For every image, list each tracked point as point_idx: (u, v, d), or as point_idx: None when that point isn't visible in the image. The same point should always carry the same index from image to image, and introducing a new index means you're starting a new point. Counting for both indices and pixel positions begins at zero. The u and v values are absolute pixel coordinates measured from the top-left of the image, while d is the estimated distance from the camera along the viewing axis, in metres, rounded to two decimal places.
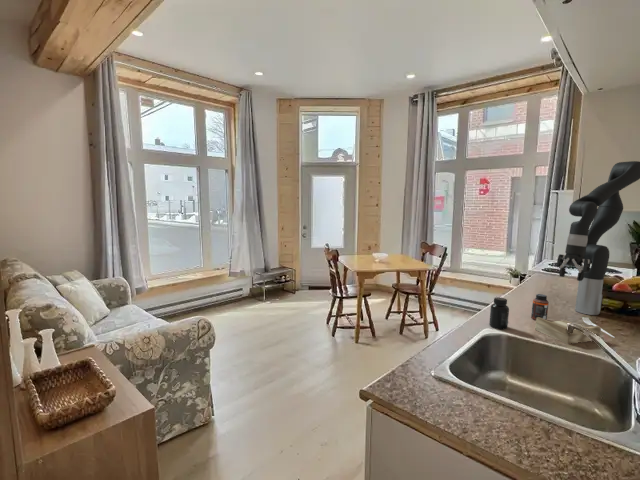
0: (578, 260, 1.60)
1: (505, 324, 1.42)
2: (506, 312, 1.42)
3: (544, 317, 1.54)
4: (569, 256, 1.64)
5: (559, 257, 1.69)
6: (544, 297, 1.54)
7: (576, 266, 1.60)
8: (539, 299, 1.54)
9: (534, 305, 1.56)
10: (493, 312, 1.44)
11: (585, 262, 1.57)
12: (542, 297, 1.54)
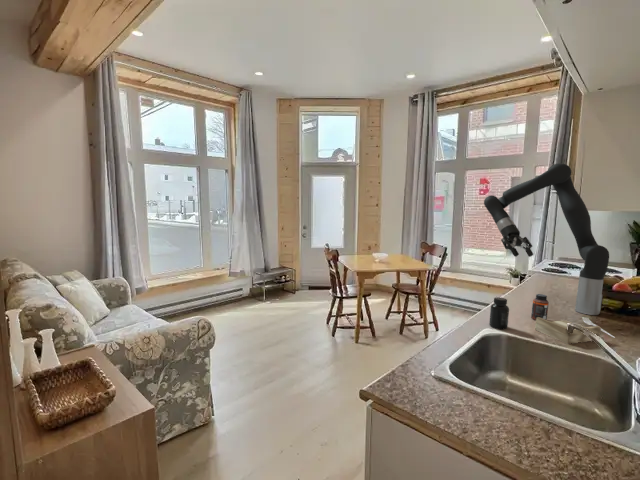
0: None
1: (505, 324, 1.42)
2: (506, 312, 1.42)
3: (544, 317, 1.54)
4: None
5: None
6: (544, 297, 1.54)
7: None
8: (539, 299, 1.54)
9: (534, 305, 1.56)
10: (493, 312, 1.44)
11: None
12: (542, 297, 1.54)
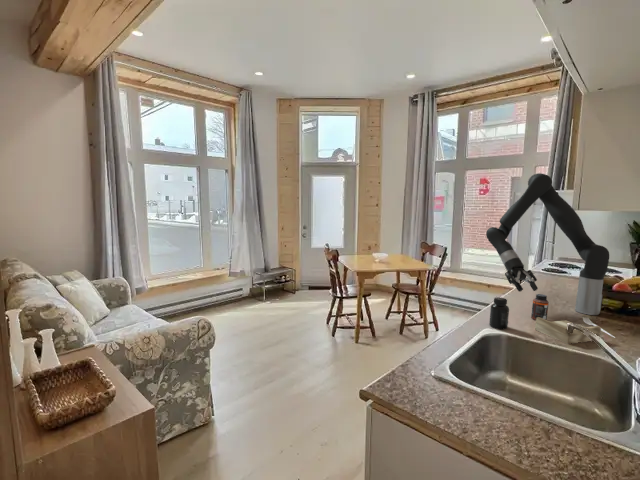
0: None
1: (505, 324, 1.42)
2: (506, 312, 1.42)
3: (544, 317, 1.54)
4: None
5: None
6: (544, 297, 1.54)
7: None
8: (539, 299, 1.54)
9: (534, 305, 1.56)
10: (493, 312, 1.44)
11: None
12: (542, 297, 1.54)
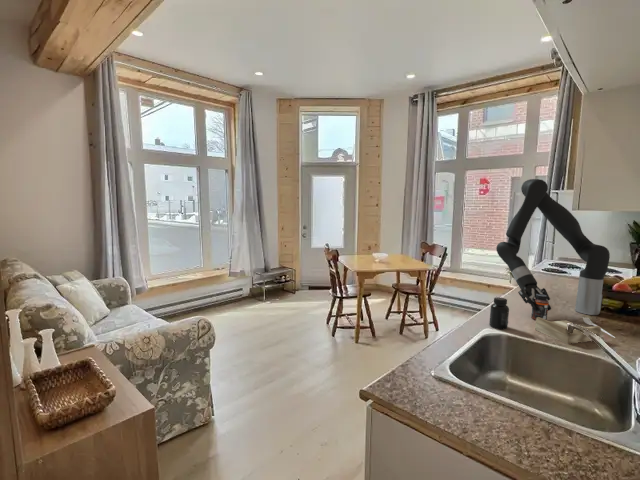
0: None
1: (505, 324, 1.42)
2: (506, 312, 1.42)
3: (544, 317, 1.54)
4: None
5: None
6: (544, 297, 1.54)
7: None
8: (539, 299, 1.54)
9: None
10: (493, 312, 1.44)
11: None
12: (542, 297, 1.54)
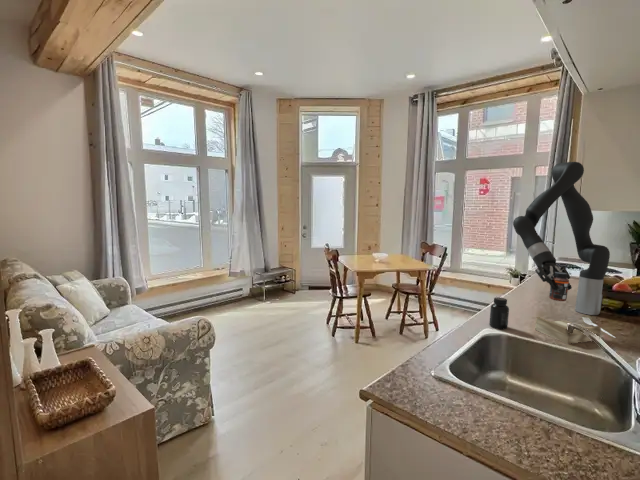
0: None
1: (505, 324, 1.42)
2: (506, 312, 1.42)
3: (563, 296, 1.41)
4: None
5: None
6: (564, 275, 1.41)
7: None
8: (558, 277, 1.41)
9: None
10: (493, 312, 1.44)
11: None
12: (562, 275, 1.41)
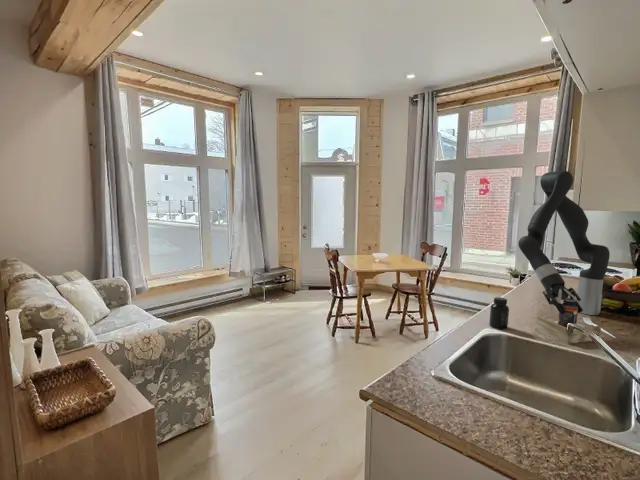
0: None
1: (505, 324, 1.42)
2: (506, 312, 1.42)
3: None
4: None
5: None
6: (573, 302, 1.36)
7: None
8: (567, 305, 1.37)
9: None
10: (493, 312, 1.44)
11: None
12: (571, 302, 1.36)
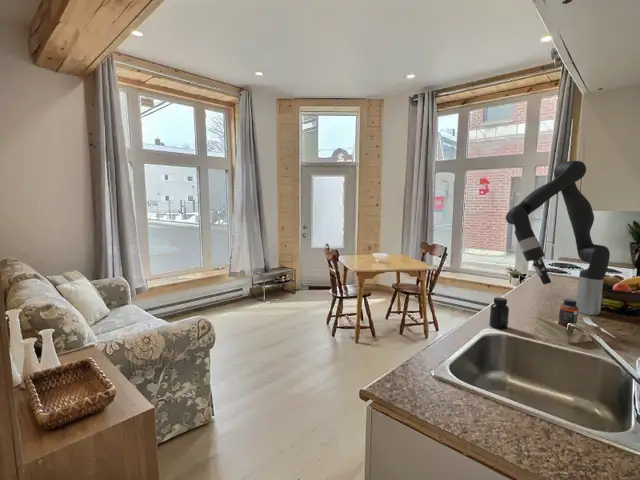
0: (536, 264, 1.52)
1: (505, 324, 1.42)
2: (506, 312, 1.42)
3: None
4: (534, 262, 1.56)
5: None
6: (573, 302, 1.36)
7: (537, 270, 1.51)
8: (568, 305, 1.37)
9: (562, 311, 1.38)
10: (493, 312, 1.44)
11: (536, 264, 1.49)
12: (571, 302, 1.36)
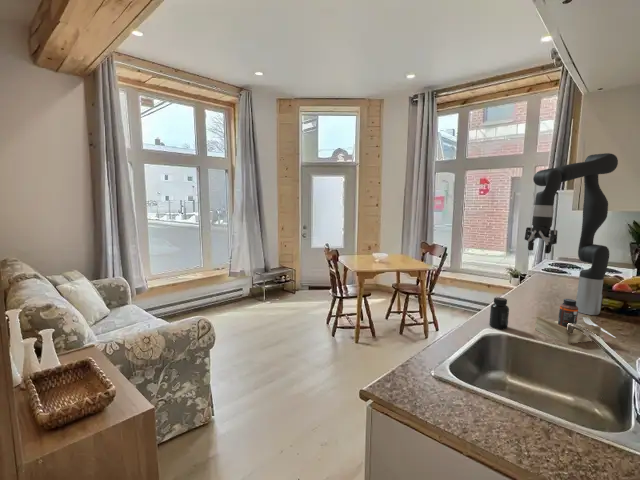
0: (545, 232, 1.52)
1: (505, 324, 1.42)
2: (506, 312, 1.42)
3: None
4: (536, 228, 1.57)
5: (527, 230, 1.61)
6: (573, 302, 1.36)
7: (543, 238, 1.53)
8: (567, 304, 1.37)
9: (561, 311, 1.38)
10: (493, 312, 1.43)
11: (551, 233, 1.49)
12: (571, 302, 1.36)
